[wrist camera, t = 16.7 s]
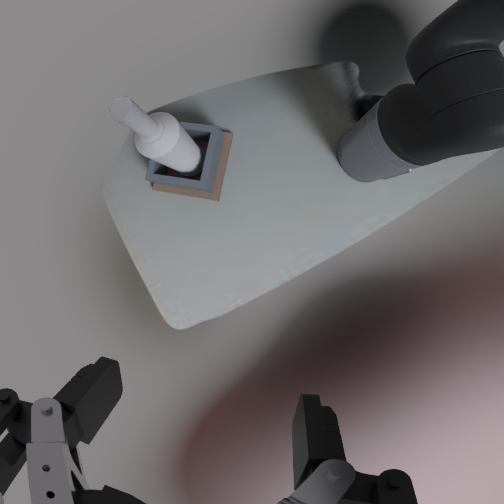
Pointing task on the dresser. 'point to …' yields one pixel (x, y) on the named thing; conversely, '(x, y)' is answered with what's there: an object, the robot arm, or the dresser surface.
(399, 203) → the dresser surface
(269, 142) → the dresser surface
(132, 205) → the dresser surface
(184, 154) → the bottle
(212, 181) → the sleeve
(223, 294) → the dresser surface
